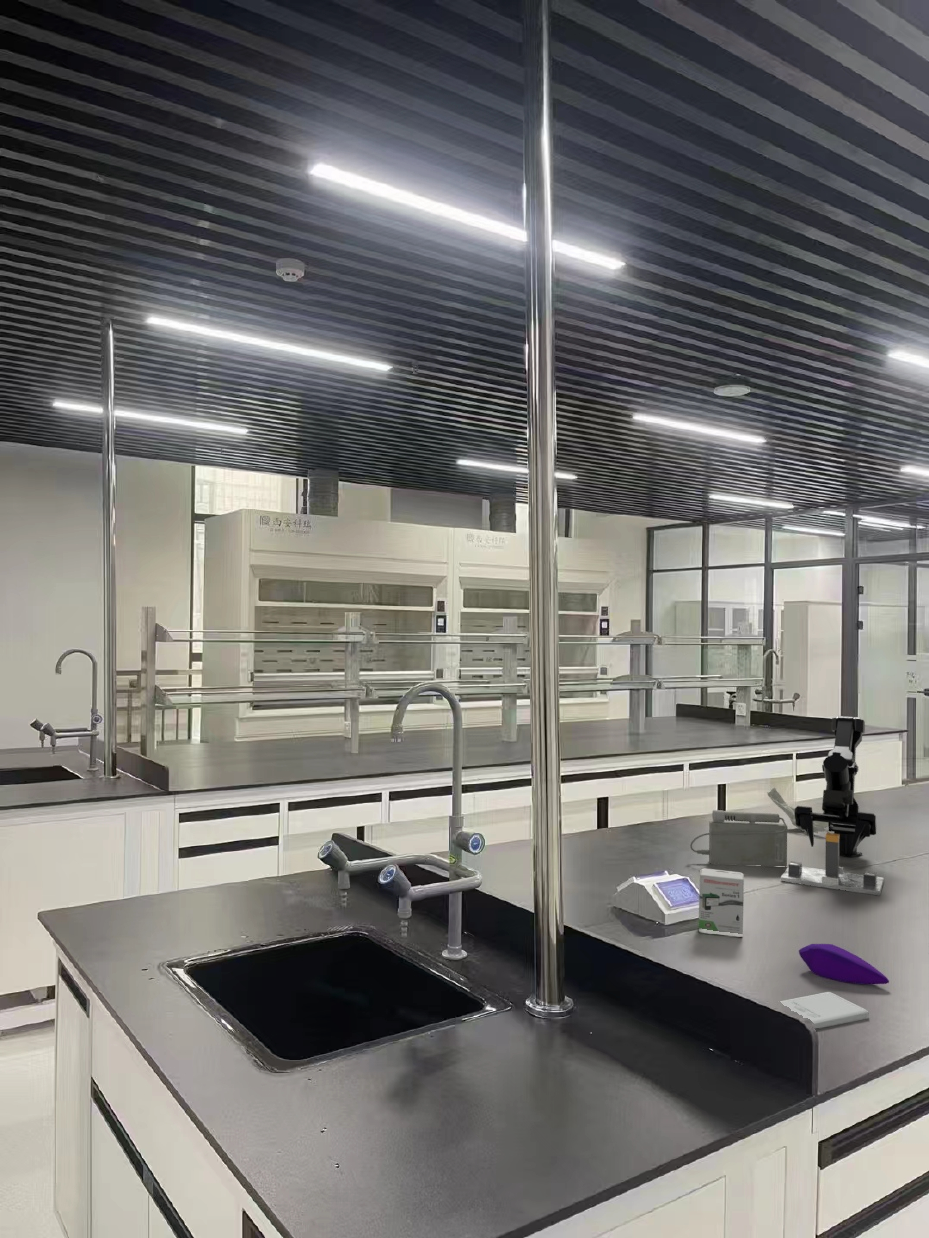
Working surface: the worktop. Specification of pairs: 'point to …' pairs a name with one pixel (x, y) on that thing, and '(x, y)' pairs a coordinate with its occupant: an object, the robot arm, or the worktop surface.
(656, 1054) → the worktop surface
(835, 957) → the purple teardrop shape
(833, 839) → the lever
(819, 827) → the skeletal model
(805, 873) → the breaker panel
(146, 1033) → the worktop surface
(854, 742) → the robot arm
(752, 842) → the geiger counter
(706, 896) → the ink box
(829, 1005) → the external hard drive
